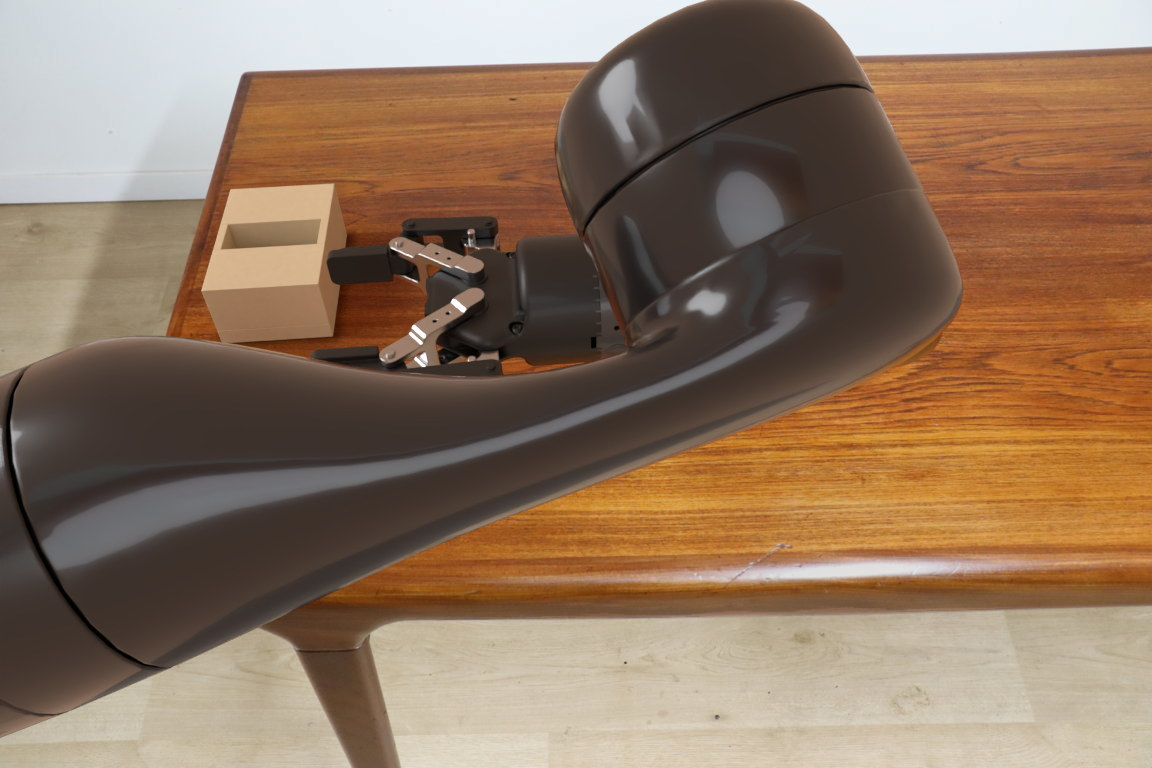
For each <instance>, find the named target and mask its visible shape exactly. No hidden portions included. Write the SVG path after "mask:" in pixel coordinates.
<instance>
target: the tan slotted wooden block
mask: <svg viewBox="0 0 1152 768" xmlns="http://www.w3.org/2000/svg"><path fill="white" fill-rule="evenodd" d="M336 187H337V186H336V184H335V183H319V184H301V185H300V184H299V185H284V186H283V185H281V186H265V187H264V186H263V187H244V188H231V189H230V190H229V192H228V193H229V194H228V196H227V201H226V204H225V208H224V211H223V214H222V218H221V221H220V225H219V228H218V232H217V235H216V239H215V243H214V245H213V249H212V252H211V255H210V259H209V263H208V266H207V269H206V273H205V276H204V278H203V279H204V280H203V283H202V287H201V294H202V296H203V299H204V302H205V304H206V307H207V309H208V312H209V314H210V317H211V318H212V322H213V324H214V327H215V329H216V331H217V334H218V337H219V340H220V342H222V343H229V344H238V343H254V342H269V341H284V340H285V341H287V340H298V339H299V340H300V339H314V338H315V339H317V338H333V337H334V333H335V326H336V317H337V310H338V304H339V303H338V302H339V296H340V288H341V285H337V284H335V283H333V282H332V281H331V278H330V275H329V271H328V267H327V263H326V262H327V255H328V253H329V252H330V251H331V250H339V249H342V248H345V247H347V238H348V233H347V230H346V226H345V222H344V217H343V213H342V208H341V205H340V199H339V197H338V192H337V188H336Z"/></svg>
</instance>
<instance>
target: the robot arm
mask: <svg viewBox="0 0 1152 768" xmlns="http://www.w3.org/2000/svg"><path fill="white" fill-rule="evenodd" d="M558 116H559V117H558V121H557V125H556V130H555V137H554V142H553V145H554V147H553V148H554V157H555V164H556V172H557V178H558V181H559V185H560V186H559V187H560V189H561V193H562V196H563V199H564V202H565V206H566V208H567V211H568V213H569V215H570V218H571V221H572V223H573V226H574V228H575V230H576V233H568V234H553V235H537V236H523V237H522V238H519V240H518V241H517V243H516V244H515V250H514V251H502V250H501V239H500V230H499V221H498V219H497V218H496V217H494V216H491V215H490V216H489V215H487V216H451V217H450V216H449V217H414V218H411V217H410V218H406V219H404V220H403V221H402V222H401V225H400V226H401V232H400V234H399V236H397V237H394V238H392V239H390V241H389V242H388V243H386V244H373V245H371V244H370V245H358V246H345V248H342V249H339V250H331V251H330V252H329V253H328V255H327V262H326V263H327V267H328V271H329V275H330V278H331V281H332V282H333V283H335V284H337V285H340V286H342V285H343V286H346V285H360V284H375V283H376V284H377V283H388V282H390V283H391V282H392V283H393V282H394V275H395V277H396V278H397V279H398V280H400V281H402V282H405V283H407V284H409V285H411V286H414V287H415V288H418V289H419V290H420V291H421V293H422V294H423V296H425V297H426V298H427V299H426V301H425V304H424V311H423V312H424V317H423V318H421V319H420V320H417V321H416V322H415V323H414V324H413V325H412V326H411V327H410V330H409V333H408V334H406V335H405V336H403V337H401V338H399V339H397V340H396V341H394V342H392V343H391V344H389V345H387V346H386V347H383V348H382V349H381V350H380V349H379V345H366V346H365V345H363V346H349V347H337V348H336V347H335V348H334V347H333V348H323V349H322V348H320V349H315V350H313V351H312V352H311V353H310V357H307V356H302V355H297V354H292V353H291V354H290V353H286V352H280V351H275V350H269V349H264V348H259V347H253V346H248V345H243V344H242V345H241V344H238V343H222V342H221V341H213V340H208V339H199V338H193V337H183V336H170V335H128V336H127V335H126V336H116V337H109V338H104V339H98V340H94V341H91V342H86V343H82V344H78V345H75V346H72V347H70V348H67V349H65V350H61V351H59V352H57V353H56V352H55V354H51V355H49V356H46V357H45V358H42V359H39V360H37V361H35V362H32V363H30V364H28V365H25V366H23V367H20V368H17V369H15V370H13V371H11V372H10V371H9V372H8V373H5V374H2V375H0V739H1V738H3V737H6V736H9V735H11V734H14V733H17V732H20V731H22V730H25V729H28V728H30V727H32V726H36V725H37V724H41V723H43V722H46V721H49V720H51V719H53V718H56V717H59V716H61V715H64V714H66V713H69V712H71V711H74V710H76V709H78V708H80V707H83V706H86V705H88V704H90V703H92V702H95V701H98V700H99V699H102V698H105V697H106V696H109V695H111V694H114V693H116V692H118V691H121V690H123V689H125V688H128V687H130V686H132V685H134V684H137V683H140V682H142V681H144V680H147V679H149V678H151V677H154V676H155V675H158V674H161V673H163V672H165V671H167V670H169V669H172V668H174V667H175V666H179V665H181V664H183V663H185V662H188V661H189V660H192V659H194V658H196V657H198V656H200V655H202V654H205V653H207V652H209V651H212V650H213V649H215V648H218V647H220V646H222V645H224V644H226V643H228V642H231V641H233V640H235V639H237V638H239V637H242V636H243V635H245V634H248V633H250V632H252V631H254V630H256V629H258V628H261V627H263V626H265V625H267V624H270V623H272V622H273V621H276V620H278V619H280V618H282V617H285V616H286V615H288V614H291V613H294V612H295V611H297V610H299V609H301V608H304V607H306V606H307V605H310V604H312V603H314V602H317V601H319V600H320V599H322V598H326V597H327V596H329V595H332V594H333V593H335V592H338V591H340V590H342V589H344V588H346V587H349V586H351V585H353V584H355V583H357V582H359V581H361V580H363V579H366V578H368V577H371V576H372V575H374V574H377V573H379V572H381V571H383V570H385V569H387V568H389V567H392V566H395V565H396V564H398V563H401V562H403V561H406V560H407V559H410V558H412V557H414V556H416V555H419V554H422V553H424V552H425V551H429V550H431V549H432V548H435V547H437V546H440V545H442V544H444V543H446V542H450V541H451V540H454V539H456V538H459V537H461V536H464V535H466V534H468V533H469V534H470V533H472V532H474V531H476V530H479V529H481V528H484V527H487V526H490V525H493V523H494V524H495V523H497V522H499V521H501V520H505V519H507V518H510V517H512V516H515V515H518V514H521V513H523V512H527V511H529V510H532V509H534V508H537V507H539V506H540V507H541V506H542V505H545V504H548V503H551V502H553V501H557V500H559V499H562V498H564V497H566V496H569V495H572V494H575V493H578V492H580V491H583V490H587V489H588V488H591V487H594V486H597V485H600V484H602V483H605V482H607V481H610V480H613V479H617V478H619V477H621V476H624V475H627V474H630V473H632V472H635V471H639V470H641V469H644V468H646V467H647V468H648V467H649V466H652V465H655V464H658V463H660V462H663V461H666V460H669V459H671V458H674V457H677V456H680V455H683V454H685V453H688V452H691V451H693V450H696V449H698V448H702V447H704V446H707V445H711V444H713V443H715V442H718V441H721V440H725V439H727V438H729V437H732V436H735V435H738V434H741V433H744V432H746V431H749V430H752V429H754V428H757V427H760V426H763V425H765V424H768V423H771V422H773V421H775V420H779V419H782V418H783V417H787V416H789V415H792V414H795V413H798V412H800V411H802V410H804V409H807V408H809V407H813V406H815V405H817V404H820V403H822V402H825V401H827V400H829V399H833V398H835V397H837V396H839V395H841V394H843V393H846V392H848V391H850V390H852V389H854V388H857V387H859V386H861V385H863V384H866V383H867V382H870V381H873V380H874V379H876V378H878V377H879V376H881V375H883V374H885V373H887V372H888V371H891V370H892V369H896V368H899V367H905V366H907V365H910V364H913V363H916V362H918V361H920V360H921V359H923V358H925V357H926V356H928V355H929V354H931V353H932V352H933V351H934V350H935V349H936V348H937V347H938V345H939V344H940V342H941V339H942V337H943V334H944V332H945V331H946V330H947V329H948V327H949V326H951V324H952V323H953V321H954V320H955V318H956V317H957V316H958V313H959V311H960V309H961V306H962V302H963V295H964V280H963V276H962V274H961V270H960V266H959V263H958V260H957V257H956V255H955V253H954V250H953V247H952V246H951V243H950V240H949V239H948V236H947V234H946V232H945V229H944V228H943V225H942V223H941V222H940V219H939V217H938V215H937V212H936V211H935V209H934V206H933V205H932V203H931V201H930V199H929V197H928V196H927V195H926V193H925V192H924V190H925V189H924V186H923V184H922V183H921V181H920V179H919V176H918V175H917V172H916V171H915V169H914V167H913V165H912V163H911V161H910V159H909V157H908V155H907V153H906V150H905V149H904V147H903V144H902V143H901V141H900V139H899V137H898V136H897V133H896V131H895V129H894V127H893V125H892V123H891V121H890V119H889V118H888V115H887V114H886V111H885V109H884V108H883V105H882V103H881V102H880V100H879V98H878V95H877V94H875V90H874V88H873V85H872V83H871V81H870V80H869V78H868V75H867V73H866V72H865V71H864V68H863V66H862V65H861V64H860V62H859V60H858V58H856V56H855V54H854V53H853V51H852V50H851V48H850V47H849V46H848V44H847V43H846V42H845V40H844V39H843V37H842V36H841V34H839V33H838V31H837V30H836V29H835V28H834V27H833V26H832V25H831V24H830V22H828V20H827V19H825V18H824V17H823V16H822V15H821V14H819V13H818V12H816V11H815V10H813V9H812V8H810V7H809V6H807V5H806V4H804V3H802V2H800V1H798V0H703V1H700V2H696V3H693V4H690V5H687V6H684V7H682V8H680V9H677V10H676V11H673V12H671V13H669V14H667V15H665V16H663V17H660V18H658V19H657V20H655V21H653V22H652V23H650V24H648V25H646V26H644V27H643V28H642V29H640V30H638V31H637V32H635V33H633V34H631V35H630V36H628V37H627V38H626V39H624V40H622V41H621V42H620V43H618V44H617V45H616V46H615V47H613V48H612V49H610V51H608V52H606V53H605V54H604V55H603V56H602V57H601V58H600V59H599V60H598V61H597V62H596V63H594V64H593V66H592V67H590V69H588V70H587V71H586V72H585V74H584V75H583V76H582V78H581V79H580V80H579V81H578V83H577V84H576V86H575V87H574V88H573V90H572V91H571V92H570V94H569V95H568V97H567V99H566V101H565V103H564V105H563V107H562V109H561V112H560V114H559V115H558ZM433 236H434V237H436V236H437V237H441V239H442V242H425V239H424V238H425V237H433ZM437 346H438V347H440V348H439V350H438V347H437ZM412 358H413V359H412ZM517 358H519V359H523V360H524V361H525V362H526V364H527V365H529V366H531V367H543V366H555V365H565V366H561V367H555V368H549V369H546V370H539V371H533V372H521V373H520V372H519V373H505V374H504V371H503V370H504V369H503V364H502V363H503V362H505V361H507V360H511V359H517ZM410 359H411V360H410ZM409 360H410V361H409ZM407 361H408V362H407ZM570 364H571V365H570Z"/></svg>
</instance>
